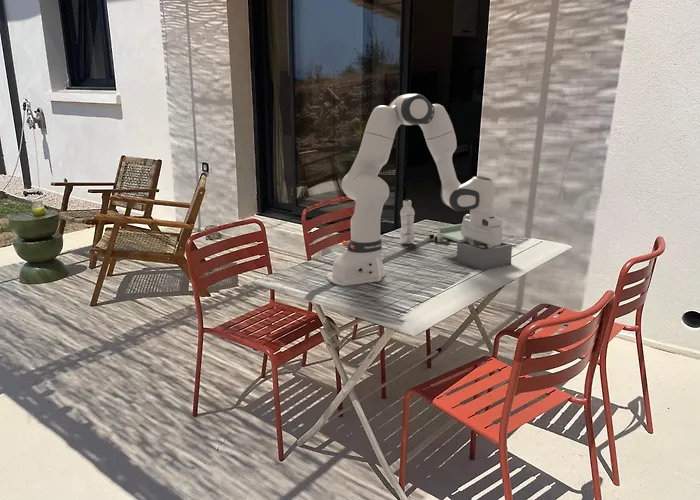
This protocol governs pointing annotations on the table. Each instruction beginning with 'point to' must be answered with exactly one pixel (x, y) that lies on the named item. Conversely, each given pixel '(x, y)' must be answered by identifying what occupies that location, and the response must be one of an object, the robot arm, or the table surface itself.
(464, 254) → the housing
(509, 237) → the table surface
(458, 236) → the lid
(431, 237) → the robot toy
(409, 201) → the plastic bottle
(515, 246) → the table surface
